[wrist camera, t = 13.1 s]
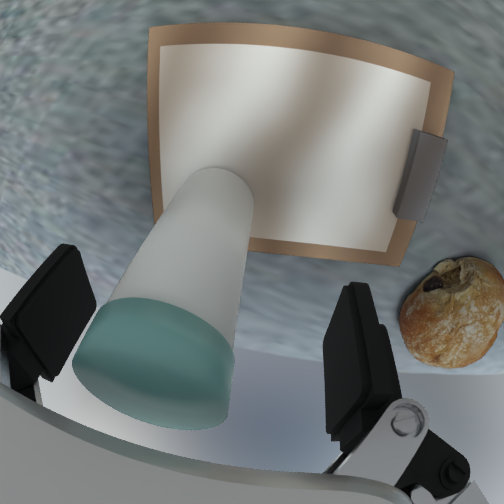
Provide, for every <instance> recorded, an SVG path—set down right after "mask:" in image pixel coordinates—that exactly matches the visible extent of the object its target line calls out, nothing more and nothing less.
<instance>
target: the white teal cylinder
mask: <svg viewBox="0 0 504 504" xmlns="http://www.w3.org/2000/svg"><path fill="white" fill-rule="evenodd" d="M253 212H254V198H253V195H252V192H251V190H250V188H249V187H248V185H247V184H246V183H245V181H244V180H243V179H241V178H240V177H239V176H238V175H236V174H234V173H232V172H230V171H228V170H224V169H219V168H208V169H204V170H200V171H198V172H196V173H194V174H193V175H191V176H190V177H189V178H188V179H187V180H186V181H185V183H184V184H183V185H182V187H181V188H180V189H179V191H178V192H177V194H176V195H175V196H174V198H173V199H172V201H171V202H170V204H169V205H168V206H167V208H166V209H165V211H164V212H163V214H162V215H161V217H160V218H159V220H158V221H157V222H156V224H155V225H154V227H153V228H152V230H151V231H150V233H149V235H148V236H147V238H146V239H145V241H144V242H143V244H142V245H141V247H140V248H139V250H138V252H137V253H136V255H135V256H134V258H133V260H132V261H131V263H130V264H129V266H128V268H127V269H126V271H125V273H124V274H123V276H122V278H121V279H120V281H119V283H118V284H117V286H116V288H115V289H114V291H113V293H112V295H111V296H110V298H109V300H108V302H107V303H106V304H105V305H103V306H102V307H101V308H100V309H99V311H98V312H97V314H96V316H95V318H94V319H93V321H92V323H91V325H90V327H89V329H88V330H87V332H86V334H85V336H84V338H83V340H82V342H81V344H80V346H79V348H78V349H77V352H76V353H75V355H74V358H73V360H72V367H73V370H74V373H75V375H76V376H77V378H78V379H79V381H80V382H81V383H82V384H83V385H84V386H85V387H86V389H87V390H88V391H90V392H91V393H92V394H93V395H94V396H96V397H97V398H98V399H100V400H101V401H102V402H104V403H105V404H107V405H109V406H110V407H112V408H114V409H116V410H117V411H119V412H121V413H124V414H126V415H128V416H130V417H133V418H135V419H138V420H140V421H143V422H146V423H149V424H153V425H157V426H161V427H166V428H172V429H180V430H201V429H208V428H213V427H215V426H218V425H219V424H221V423H223V422H224V421H225V420H226V418H227V415H228V408H229V400H230V393H231V386H232V378H233V370H234V364H235V358H234V354H233V345H234V339H235V332H236V325H237V318H238V311H239V305H240V298H241V291H242V285H243V278H244V271H245V264H246V258H247V251H248V245H249V238H250V231H251V225H252V218H253Z"/></svg>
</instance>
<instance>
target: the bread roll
mask: <svg viewBox="0 0 504 504" xmlns="http://www.w3.org/2000/svg"><path fill="white" fill-rule="evenodd" d="M503 320H504V279H503V277H502V275H501V274H500V273H499V271H498V270H497V269H496V268H495V267H494V266H493V265H491V264H490V263H488V262H486V261H485V260H480V259H478V258H475V257H463V258H459V259H457V260H455V261H453V260H451V259H449V258H448V259H445V260H444V261H442V262H440V263H439V264H438V265H437V266H436V267H435V268H434V270H433V271H432V272H431V273H430V274H429V275H428V276H427V277H426V278H425V279H423V280H422V281H421V283H420V284H419V285H418V286H417V287H416V289H415V290H414V291H413V292H412V293H411V294H410V295H408V297H407V298H406V300H405V301H404V303H403V305H402V307H401V311H400V317H399V325H400V331H401V334H402V337H403V340H404V343H405V345H406V347H407V349H408V350H409V352H410V353H411V354H412V355H413V356H414V357H415V358H416V359H418V360H419V361H421V362H422V363H425V364H427V365H430V366H435V367H442V368H458V367H465V366H467V365H469V364H471V363H474V362H475V361H477V360H479V359H481V358H482V357H483V356H484V355H485V354H486V352H487V351H488V350H489V349H490V347H491V346H492V345H493V343H494V341H495V339H496V338H497V331H498V330H499V328H500V326H501V324H502V322H503Z"/></svg>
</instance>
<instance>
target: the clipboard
mask: <svg viewBox="0 0 504 504" xmlns="http://www.w3.org/2000/svg"><path fill="white" fill-rule="evenodd" d="M453 78H454V71H451V70H449V69H447V68H445V67H442V66H440V65H437V64H435V63H433V62H430V61H427V60H425V59H422V58H420V57H417V56H414V55H411V54H408V53H406V52H403V51H400V50H396V49H393V48H390V47H387V46H383V45H380V44H376V43H373V42H369V41H365V40H361V39H357V38H353V37H349V36H344V35H339V34H335V33H329V32H324V31H318V30H312V29H305V28H298V27H290V26H281V25H270V24H256V23H190V24H176V25H165V26H156V27H149V42H148V67H147V120H148V148H149V166H150V180H151V193H152V204H153V214H154V223H155V224H156V222H157V221H158V220H159V218H160V217H161V215H162V214H163V212H164V211H165V209H166V208H167V206H168V205H169V204H170V202H171V201H172V199H173V198H174V196H175V195H176V194H177V192H178V191H179V189H180V188H181V187H182V185H183V184H184V183H185V181H186V180H187V179H188V178H189V177H190V176H191V175H193V174H194V173H196V172H198V171H200V170H204V169H208V168H219V169H224V170H228V171H230V172H232V173H234V174H236V175H238V176H239V177H240V178H241V179H243V180H244V181H245V183H246V184H247V185H248V187H249V188H250V190H251V192H252V195H253V198H254V212H253V218H252V225H251V231H250V238H249V245H248V251H254V252H264V253H273V254H283V255H292V256H302V257H312V258H321V259H331V260H340V261H350V262H360V263H369V264H379V265H388V266H398V267H400V264H401V262H402V259H403V257H404V255H405V252H406V250H407V247H408V245H409V242H410V239H411V237H412V234H413V232H414V229H415V226H416V223H417V222H422V223H423V221H424V218H425V215H426V212H427V209H428V206H429V203H430V200H431V197H432V194H433V191H434V188H435V185H436V182H437V178H438V175H439V172H440V168H441V165H442V161H443V157H444V154H445V150H446V146H447V142H448V141H447V140H445V139H444V138H442V136H443V132H444V128H445V123H446V118H447V113H448V108H449V103H450V97H451V91H452V85H453Z"/></svg>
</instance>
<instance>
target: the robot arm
mask: <svg viewBox="0 0 504 504" xmlns="http://www.w3.org/2000/svg"><path fill="white" fill-rule="evenodd" d="M96 305H97V304H96V300H95V297H94V294H93V291H92V288H91V286H90V283H89V280H88V277H87V274H86V270H85V267H84V264H83V261H82V258H81V254H80V252H79V250H77V247H76V246H74V245H69V244H60V245H59V246H58V247H57V248H56V249H55V250H54V251H53V253H52V254H51V255H50V256H49V257H48V258H47V259H46V260H45V261H44V262H43V264H42V265H41V266H40V267H39V268H38V269H37V270H36V272H35V273H34V274H33V275H32V276H31V277H30V279H29V280H28V281H27V282H26V283H25V285H24V286H23V287H22V288H21V289H20V291H19V292H18V293H17V294H16V296H15V297H14V298H13V300H12V301H11V302H10V303H9V305H8V306H7V307H6V309H5V310H4V311H3V312H2V314H1V315H0V318H1V320H2V322H3V324H2V325H0V504H489V503H488V502H487V500H486V498H485V497H484V495H483V494H482V492H481V490H480V489H479V487H478V486H477V484H476V483H475V481H472V482H470V480H469V478H470V467H469V466H470V465H469V463H468V461H467V459H466V458H465V457H464V456H463V455H462V454H460V453H459V452H458V451H456V450H455V449H454V448H452V447H451V446H450V445H449V444H447V443H446V442H445V441H444V440H442V439H441V438H439V437H438V436H437V435H436V434H434V433H433V432H432V431H430V430H429V429H428V428H429V417H428V414H427V412H426V410H425V409H424V407H423V406H422V405H421V404H420V403H419V402H417V401H415V400H413V399H407V398H404V399H402V394H401V389H400V385H399V380H398V375H397V370H396V365H395V361H394V356H393V352H392V348H391V344H390V340H389V336H388V332H387V329H386V327H385V326H384V325H383V324H379V321H378V317H377V313H376V310H375V306H374V302H373V298H372V295H371V291H370V288H369V285H368V284H367V283H359V282H350V283H349V285H348V286H344V287H343V289H342V292H341V294H340V297H339V300H338V303H337V305H336V308H335V311H334V313H333V316H332V319H331V321H330V324H329V327H328V329H327V332H326V334H325V337H324V340H323V359H324V378H325V406H326V407H325V408H326V432H327V434H331V441H340V450H341V451H342V452H341V453H340V455H339V456H338V457H337V458H336V459H335V460H334V461H333V463H332V464H331V465H330V466H329V467H328V468H327V469H326V470H325V471H324V472H323V473H322V474H320V473H303V472H283V471H270V470H261V469H252V468H243V467H236V466H229V465H222V464H216V463H210V462H205V461H200V460H195V459H190V458H185V457H181V456H177V455H173V454H169V453H165V452H161V451H157V450H154V449H150V448H147V447H143V446H140V445H137V444H133V443H130V442H127V441H124V440H121V439H118V438H116V437H113V436H110V435H107V434H104V433H102V432H99V431H97V430H94V429H91V428H89V427H87V426H84V425H82V424H80V423H77V422H75V421H73V420H71V419H68V418H66V417H64V416H62V415H60V414H57V413H56V412H53V411H51V410H49V409H47V408H45V407H43V404H42V398H41V393H40V387H39V382H38V377H39V376H40V375H41V377H42V378H44V379H46V380H48V381H50V382H53V380H54V378H55V376H58V375H59V373H60V371H61V370H62V368H63V366H64V364H65V362H66V360H67V359H68V357H69V355H70V353H71V351H72V349H73V347H74V346H75V344H76V342H77V341H78V339H79V337H80V335H81V333H82V332H83V330H84V328H85V327H86V325H87V323H88V322H89V320H90V318H91V317H92V315H93V313H94V312H95V310H96Z"/></svg>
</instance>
